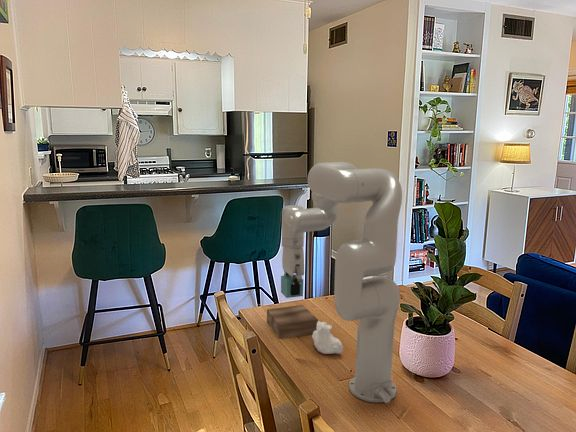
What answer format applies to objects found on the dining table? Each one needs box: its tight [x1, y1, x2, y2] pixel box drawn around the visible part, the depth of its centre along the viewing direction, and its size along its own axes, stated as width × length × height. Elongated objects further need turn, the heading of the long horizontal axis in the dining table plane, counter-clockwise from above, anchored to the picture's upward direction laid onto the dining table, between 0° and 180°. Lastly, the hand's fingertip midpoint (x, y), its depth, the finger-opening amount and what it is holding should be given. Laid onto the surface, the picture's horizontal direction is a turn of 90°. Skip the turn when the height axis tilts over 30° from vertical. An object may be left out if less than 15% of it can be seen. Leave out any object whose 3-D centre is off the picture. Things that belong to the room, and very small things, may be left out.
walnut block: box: [266, 304, 319, 340], centre depth 162 cm, size 14×14×5 cm
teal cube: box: [280, 273, 304, 299], centre depth 160 cm, size 6×6×6 cm
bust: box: [311, 320, 344, 355], centre depth 144 cm, size 12×8×11 cm
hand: (291, 291), depth 160 cm, fingers closed on teal cube, 6 cm apart
